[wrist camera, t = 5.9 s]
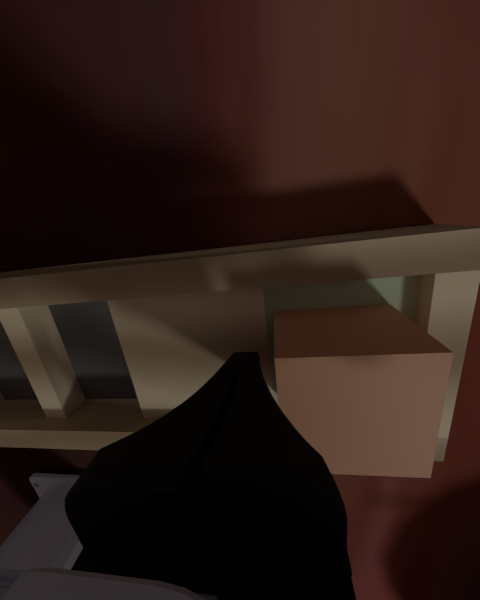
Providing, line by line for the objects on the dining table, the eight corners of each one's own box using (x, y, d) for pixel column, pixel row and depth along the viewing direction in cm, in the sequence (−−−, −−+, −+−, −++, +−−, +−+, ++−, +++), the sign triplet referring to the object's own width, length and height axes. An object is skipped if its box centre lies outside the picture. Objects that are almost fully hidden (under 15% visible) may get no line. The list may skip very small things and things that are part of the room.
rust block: (381, 396, 12) (430, 477, 8) (281, 397, 13) (284, 471, 9) (388, 303, 10) (453, 352, 7) (274, 311, 11) (274, 358, 8)
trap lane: (410, 413, 14) (443, 461, 12) (1, 412, 19) (-45, 445, 17) (434, 223, 11) (490, 226, 8) (-71, 280, 16) (-145, 294, 13)
